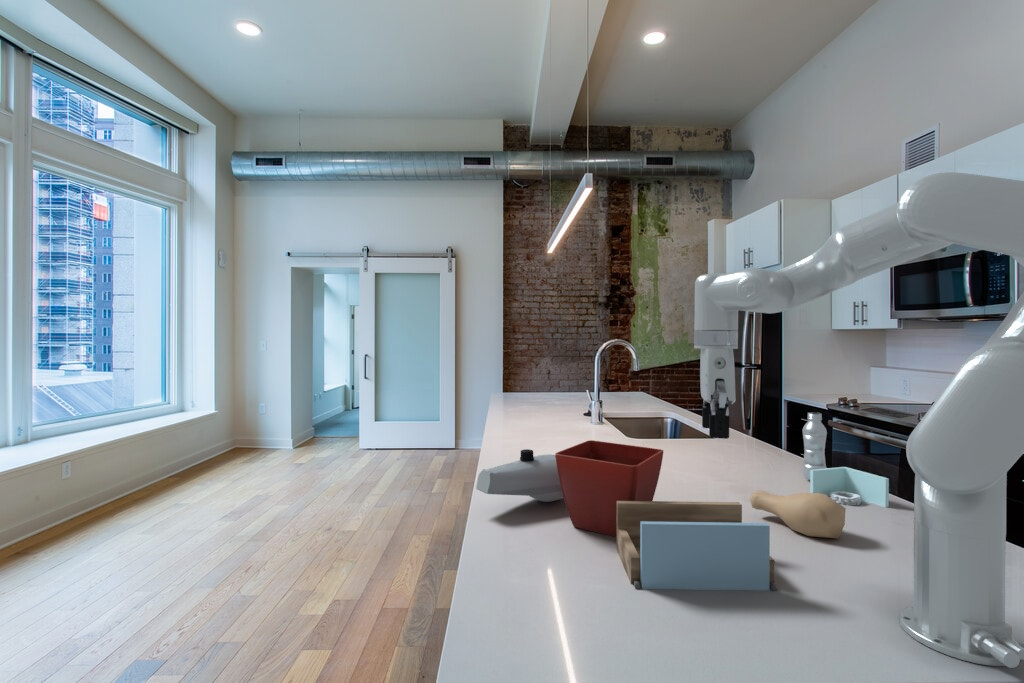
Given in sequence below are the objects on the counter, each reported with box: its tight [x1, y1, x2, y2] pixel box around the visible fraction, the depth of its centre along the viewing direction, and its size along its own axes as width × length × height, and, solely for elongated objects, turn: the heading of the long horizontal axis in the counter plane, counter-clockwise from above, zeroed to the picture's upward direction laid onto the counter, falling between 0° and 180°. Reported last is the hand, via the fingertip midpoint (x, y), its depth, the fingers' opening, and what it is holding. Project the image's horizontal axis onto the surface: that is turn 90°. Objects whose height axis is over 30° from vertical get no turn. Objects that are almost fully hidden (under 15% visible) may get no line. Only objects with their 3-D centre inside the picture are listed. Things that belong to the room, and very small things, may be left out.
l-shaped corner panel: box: [809, 466, 890, 508], centre depth 130 cm, size 12×12×8 cm
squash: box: [749, 490, 846, 539], centre depth 112 cm, size 11×20×9 cm, turn 31°
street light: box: [475, 448, 564, 503], centre depth 128 cm, size 30×16×14 cm, turn 127°
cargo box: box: [615, 500, 778, 592], centre depth 92 cm, size 16×24×10 cm
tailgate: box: [640, 521, 771, 591], centre depth 84 cm, size 1×21×11 cm, turn 88°
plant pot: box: [554, 439, 664, 538], centre depth 114 cm, size 19×19×17 cm
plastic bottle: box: [801, 412, 828, 480], centre depth 150 cm, size 6×7×20 cm
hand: (714, 432), depth 93 cm, fingers open, 9 cm apart
